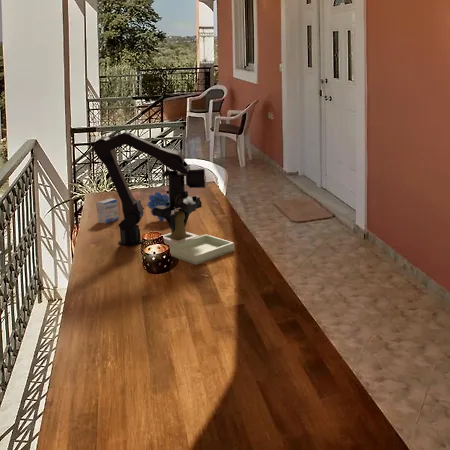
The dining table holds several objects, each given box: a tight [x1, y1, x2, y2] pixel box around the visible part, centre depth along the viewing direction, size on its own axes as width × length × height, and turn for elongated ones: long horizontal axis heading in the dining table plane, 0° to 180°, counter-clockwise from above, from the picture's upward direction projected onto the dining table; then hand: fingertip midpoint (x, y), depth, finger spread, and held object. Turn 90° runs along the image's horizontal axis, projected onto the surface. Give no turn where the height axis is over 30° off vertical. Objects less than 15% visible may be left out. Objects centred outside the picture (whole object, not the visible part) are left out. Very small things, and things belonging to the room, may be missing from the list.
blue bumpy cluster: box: [147, 191, 169, 222], centre depth 233 cm, size 12×7×12 cm, turn 77°
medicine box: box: [95, 197, 120, 225], centre depth 235 cm, size 8×4×9 cm, turn 147°
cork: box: [170, 210, 187, 241], centre depth 206 cm, size 6×6×11 cm
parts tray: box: [169, 233, 235, 266], centre depth 197 cm, size 18×14×3 cm
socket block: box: [161, 231, 200, 246], centre depth 208 cm, size 10×10×2 cm
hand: (178, 230), depth 207 cm, fingers closed on cork, 4 cm apart
